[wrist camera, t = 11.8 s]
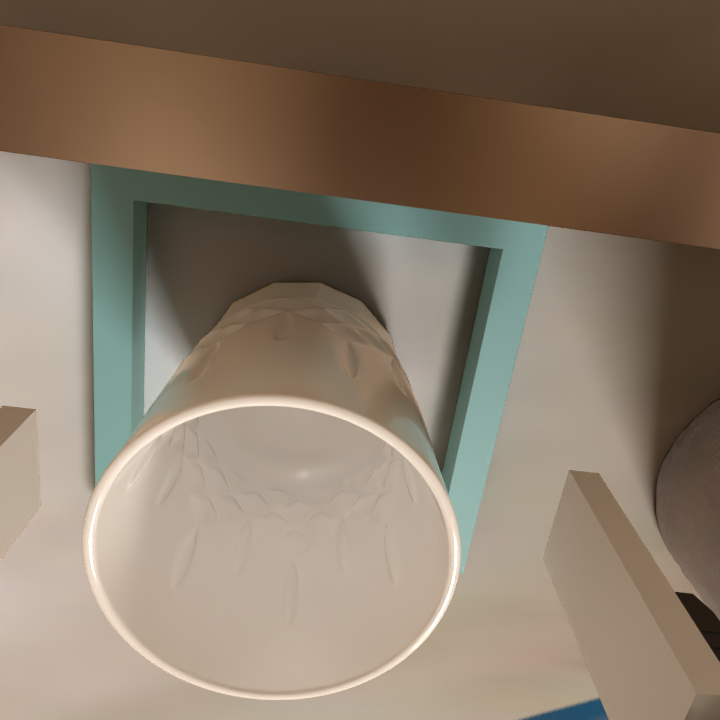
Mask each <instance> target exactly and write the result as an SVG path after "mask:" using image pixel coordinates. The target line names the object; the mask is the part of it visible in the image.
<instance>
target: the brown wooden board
mask: <svg viewBox="0 0 720 720" xmlns="http://www.w3.org/2000/svg"><path fill="white" fill-rule="evenodd" d="M0 151H4V152H12V153H19V154H26V155H34V156H41V157H48V158H56V159H63V160H70V161H78V162H85V163H92V164H100V165H107V166H114V167H122V168H129V169H136V170H144V171H151V172H158V173H166V174H173V175H180V176H188V177H195V178H202V179H210V180H217V181H224V182H231V183H239V184H246V185H253V186H261V187H268V188H275V189H283V190H290V191H297V192H305V193H312V194H319V195H327V196H334V197H341V198H349V199H356V200H363V201H371V202H378V203H385V204H393V205H400V206H407V207H415V208H422V209H429V210H437V211H444V212H451V213H459V214H466V215H473V216H481V217H488V218H495V219H503V220H510V221H517V222H525V223H532V224H539V225H547V226H554V227H561V228H569V229H576V230H583V231H591V232H598V233H605V234H613V235H620V236H627V237H635V238H642V239H649V240H657V241H664V242H671V243H679V244H686V245H693V246H701V247H708V248H715V249H720V133H713V132H707V131H700V130H693V129H687V128H680V127H673V126H667V125H660V124H654V123H647V122H640V121H634V120H627V119H620V118H614V117H607V116H601V115H594V114H587V113H581V112H574V111H567V110H561V109H554V108H548V107H541V106H534V105H528V104H521V103H515V102H508V101H501V100H495V99H488V98H481V97H475V96H468V95H462V94H455V93H448V92H442V91H435V90H428V89H422V88H415V87H409V86H402V85H395V84H389V83H382V82H375V81H369V80H362V79H356V78H349V77H342V76H336V75H329V74H323V73H316V72H309V71H303V70H296V69H289V68H283V67H276V66H270V65H263V64H256V63H250V62H243V61H236V60H230V59H223V58H217V57H210V56H203V55H197V54H190V53H183V52H177V51H170V50H164V49H157V48H150V47H144V46H137V45H131V44H124V43H117V42H111V41H104V40H97V39H91V38H84V37H78V36H71V35H64V34H58V33H51V32H44V31H38V30H31V29H25V28H18V27H11V26H5V25H0Z"/></svg>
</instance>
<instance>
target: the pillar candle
mask: <svg viewBox="0 0 720 720" xmlns="http://www.w3.org/2000/svg"><path fill="white" fill-rule="evenodd" d="M656 489H657V493H656V495H657V502H656V508H657V509H656V515H657V522H658V526H659V529H660V533H661V536H662V539H663V541H664V543H665V545H666V547H667V549H668V551H669V552H670V554H671V555H672V557H673V559H674V560H675V561H676V562H677V564H678V565H679V566H680V568H681V570H682V572H683V573H684V575H685V576H686V578H687V579H688V580H689V581H690V583H691V584H692V585H693V587H694V588H695V590H696V591H697V592H698V594H699V595H700V597H701V598H702V600H703V601H704V603H705V604H706V605H707V607H708V608H709V609H710V610H712V611H713V612H714V613H715V615H716V616H717V618H718V619H719V620H720V399H719V400H717V401H715V402H713V403H712V404H711V405H710V406H709V407H707V408H706V409H705V410H704V411H703V412H702V413H701V414H699V415H698V416H697V417H696V418H695V419H694V420H693V421H692V422H691V423H690V424H689V425H688V427H687V428H685V429H684V430H683V431H682V432H681V433H680V435H679V436H678V438H677V439H676V440H675V442H674V443H673V444H672V447H671V449H670V451H669V452H668V454H667V455H666V457H665V459H664V460H663V462H662V465H661V468H660V471H659V474H658V479H657V487H656Z"/></svg>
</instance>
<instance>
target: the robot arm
mask: <svg viewBox="0 0 720 720" xmlns="http://www.w3.org/2000/svg"><path fill="white" fill-rule="evenodd" d="M40 506H41V494H40V476H39V457H38V438H37V419H36V409H28V408H19V407H10V406H2V407H1V408H0V561H1V560H2V559H3V557H4V556H5V554H6V553H7V552H8V550H9V549H10V548H11V546H12V545H13V544H14V542H15V541H16V539H17V538H18V537H19V535H20V534H21V533H22V531H23V530H24V528H25V527H26V526H27V524H28V523H29V522H30V520H31V519H32V517H33V516H34V515H35V513H36V512H37V511H38V509H39V508H40ZM543 560H544V562H545V565H546V567H547V569H548V572H549V574H550V577H551V579H552V582H553V584H554V587H555V589H556V591H557V594H558V596H559V599H560V601H561V604H562V606H563V609H564V611H565V614H566V616H567V618H568V621H569V623H570V626H571V628H572V631H573V633H574V636H575V638H576V640H577V643H578V645H579V648H580V650H581V653H582V655H583V658H584V660H585V662H586V665H587V667H588V670H589V672H590V675H591V677H592V680H593V682H594V684H595V687H596V689H597V692H598V694H599V697H600V699H601V702H602V704H603V707H604V709H605V711H606V714H607V716H608V719H609V720H720V620H719V619H718V618H717V616H716V615H715V613H714V612H713V611H712V610H710V609H709V608H708V607H707V606H706V605H705V604H704V603H702V602H701V601H700V600H699V599H698V598H697V597H696V596H694V595H693V594H690V593H680V592H674V590H673V589H672V587H671V586H670V584H669V582H668V581H667V579H666V578H665V576H664V575H663V573H662V572H661V570H660V568H659V567H658V565H657V564H656V562H655V561H654V559H653V557H652V556H651V554H650V553H649V551H648V550H647V548H646V547H645V545H644V543H643V542H642V540H641V539H640V537H639V536H638V534H637V532H636V531H635V529H634V528H633V526H632V525H631V523H630V522H629V520H628V518H627V517H626V515H625V514H624V512H623V511H622V509H621V507H620V506H619V504H618V503H617V501H616V500H615V498H614V497H613V495H612V493H611V492H610V490H609V489H608V487H607V486H606V484H605V483H604V481H603V479H602V478H601V476H600V475H599V473H591V472H582V471H573V470H569V473H568V476H567V479H566V482H565V486H564V489H563V492H562V496H561V499H560V502H559V506H558V509H557V512H556V516H555V519H554V522H553V526H552V529H551V532H550V536H549V539H548V542H547V546H546V549H545V552H544V556H543Z"/></svg>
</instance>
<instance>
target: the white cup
mask: <svg viewBox="0 0 720 720" xmlns="http://www.w3.org/2000/svg"><path fill="white" fill-rule="evenodd" d="M82 549H83V560H84V566H85V571H86V575H87V578H88V581H89V584H90V587H91V590H92V592H93V595H94V597H95V599H96V601H97V603H98V605H99V607H100V608H101V610H102V612H103V613H104V615H105V616H106V618H107V619H108V621H109V622H110V623H111V625H112V626H113V627H114V629H115V630H116V631H117V632H118V633H119V634H120V635H121V637H122V638H123V639H124V640H125V641H126V642H127V643H128V644H129V645H130V646H132V647H133V648H134V649H135V650H136V651H137V652H138V653H140V654H141V655H142V656H143V657H145V658H146V659H147V660H149V661H150V662H152V663H153V664H155V665H156V666H158V667H159V668H161V669H163V670H164V671H166V672H168V673H170V674H172V675H174V676H176V677H178V678H180V679H182V680H184V681H186V682H189V683H191V684H194V685H196V686H199V687H202V688H205V689H208V690H211V691H215V692H218V693H222V694H227V695H232V696H237V697H243V698H251V699H263V700H292V699H303V698H311V697H317V696H322V695H327V694H331V693H335V692H339V691H342V690H345V689H349V688H351V687H354V686H357V685H359V684H362V683H364V682H367V681H369V680H371V679H373V678H375V677H377V676H379V675H381V674H382V673H384V672H386V671H388V670H389V669H391V668H392V667H394V666H395V665H397V664H398V663H400V662H401V661H402V660H404V659H405V658H406V657H408V656H409V655H410V654H411V653H412V652H413V651H414V650H416V649H417V648H418V647H419V646H420V645H421V644H422V643H423V642H424V641H425V640H426V638H427V637H428V636H429V635H430V634H431V632H432V631H433V630H434V629H435V627H436V626H437V624H438V623H439V621H440V620H441V618H442V617H443V615H444V613H445V611H446V609H447V607H448V605H449V603H450V601H451V599H452V596H453V593H454V590H455V587H456V584H457V580H458V575H459V569H460V560H461V542H460V533H459V527H458V523H457V519H456V515H455V512H454V509H453V506H452V503H451V500H450V497H449V494H448V491H447V488H446V485H445V483H444V480H443V477H442V474H441V471H440V468H439V465H438V462H437V459H436V456H435V453H434V450H433V447H432V444H431V441H430V437H429V434H428V431H427V428H426V425H425V422H424V419H423V416H422V414H421V411H420V408H419V406H418V403H417V401H416V399H415V396H414V394H413V391H412V388H411V386H410V383H409V380H408V378H407V375H406V373H405V371H404V369H403V367H402V365H401V363H400V361H399V360H398V358H397V356H396V354H395V350H394V347H393V344H392V340H391V337H390V335H389V333H388V332H387V331H386V330H385V329H384V327H383V326H382V325H381V324H380V323H379V321H378V320H377V319H376V318H375V317H374V315H373V314H372V313H371V312H370V311H369V309H368V308H367V307H366V306H365V305H364V304H363V302H362V301H360V300H358V299H355V298H353V297H351V296H349V295H347V294H344V293H342V292H340V291H338V290H335V289H333V288H331V287H329V286H327V285H324V284H322V283H273V284H271V285H268V286H266V287H264V288H262V289H260V290H258V291H256V292H254V293H252V294H250V295H248V296H246V297H244V298H242V299H240V300H237V301H235V302H234V303H233V304H232V305H231V306H230V307H229V309H228V310H227V311H226V313H225V314H224V315H223V317H222V318H221V319H220V321H219V322H218V323H217V325H216V326H215V327H214V329H213V330H212V331H211V332H209V333H208V334H207V335H206V336H204V337H203V338H202V339H201V340H200V341H199V342H198V344H197V345H196V346H195V348H194V349H193V350H192V352H191V353H190V354H189V355H188V356H187V357H186V358H185V360H183V362H182V363H181V365H180V366H179V368H178V369H177V371H176V372H175V373H174V375H173V376H172V378H171V379H170V380H169V382H168V383H167V385H166V386H165V387H164V389H163V390H162V392H161V393H160V394H159V396H158V397H157V398H156V400H155V401H154V403H153V404H152V405H151V407H150V408H149V410H148V411H147V412H146V414H145V415H144V417H143V418H142V420H141V421H140V422H139V424H138V425H137V427H136V428H135V429H134V431H133V432H132V434H131V435H130V436H129V438H128V439H127V440H126V442H125V443H124V445H123V446H122V447H121V449H120V450H119V451H118V453H117V454H116V456H115V457H114V458H113V460H112V461H111V462H110V464H109V465H108V467H107V468H106V469H105V471H104V472H103V474H102V476H101V477H100V479H99V481H98V483H97V485H96V487H95V489H94V491H93V493H92V496H91V498H90V501H89V504H88V507H87V511H86V515H85V520H84V526H83V537H82Z"/></svg>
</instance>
